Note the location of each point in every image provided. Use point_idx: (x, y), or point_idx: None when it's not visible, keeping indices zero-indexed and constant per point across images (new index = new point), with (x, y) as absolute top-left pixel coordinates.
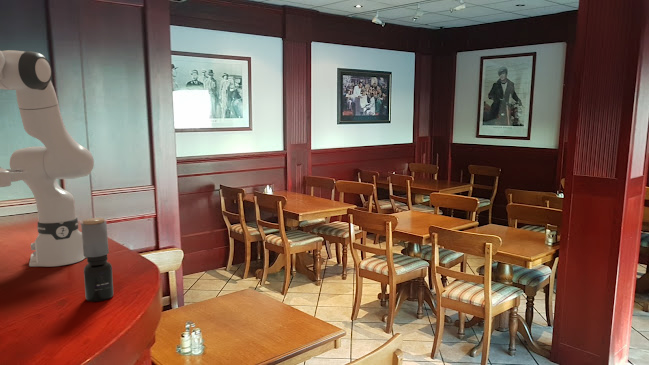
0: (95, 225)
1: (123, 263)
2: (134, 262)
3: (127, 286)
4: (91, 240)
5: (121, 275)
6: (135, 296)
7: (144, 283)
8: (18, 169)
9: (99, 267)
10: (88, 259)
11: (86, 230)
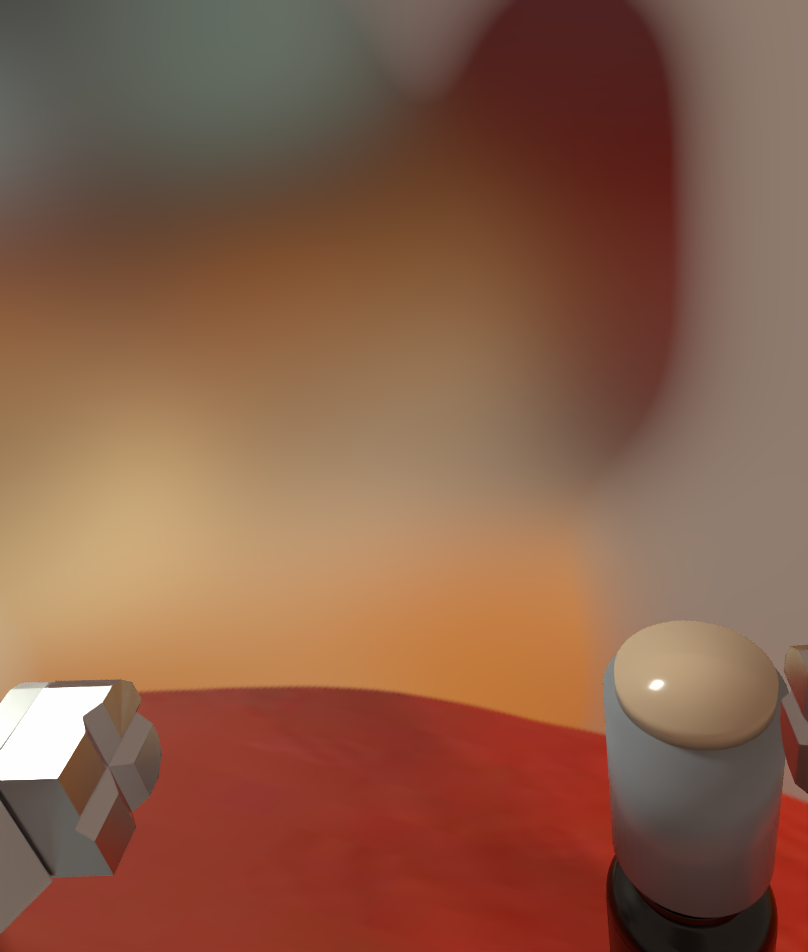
0: None
1: (222, 757)
2: (253, 722)
3: (582, 838)
4: (779, 802)
5: (390, 812)
6: None
7: (587, 772)
8: (38, 737)
9: (766, 892)
10: None
11: (768, 771)
